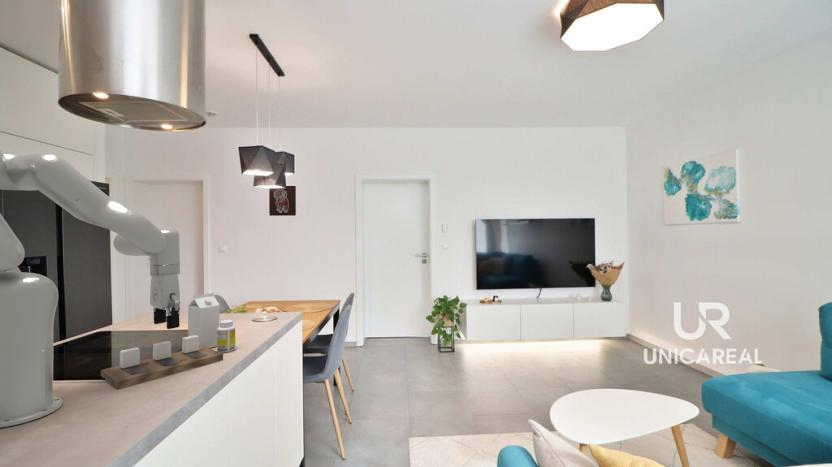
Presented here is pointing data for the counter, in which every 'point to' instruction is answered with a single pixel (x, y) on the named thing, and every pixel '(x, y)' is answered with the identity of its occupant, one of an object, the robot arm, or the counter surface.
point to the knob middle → (161, 350)
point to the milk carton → (204, 319)
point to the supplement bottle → (226, 336)
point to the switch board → (159, 367)
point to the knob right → (190, 344)
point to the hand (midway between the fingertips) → (166, 325)
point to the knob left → (129, 357)
